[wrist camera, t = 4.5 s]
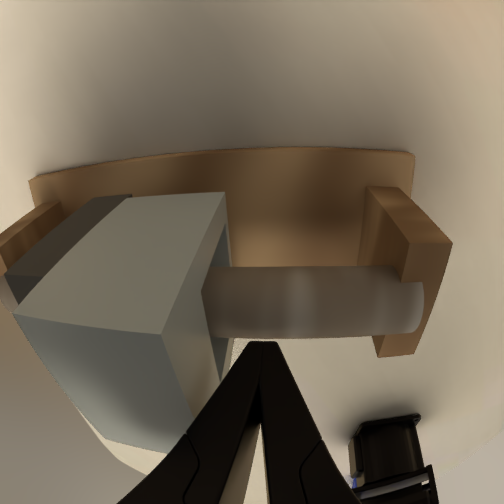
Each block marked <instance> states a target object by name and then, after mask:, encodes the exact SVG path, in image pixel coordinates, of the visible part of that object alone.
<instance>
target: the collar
mask: <svg viewBox="0 0 504 504" xmlns="http://www.w3.org/2000/svg"><path fill="white" fill-rule="evenodd" d="M126 198H133V197H132V194H123V195H113V196H103V197H94V198H92V199H91V200H90V201H88V202H87V203H86V204H84V205H83V206H82V207H80V208H79V209H78V210H77V211H75V212H74V213H73V214H71V215H70V216H69V217H68V218H66V219H65V220H64V221H63V222H61V223H60V224H59V225H58V226H57V227H55V228H54V229H53V230H52V231H51V232H49V233H48V234H47V235H46V236H45V237H43V238H42V239H41V240H40V241H39V242H38V243H37V244H35V245H34V246H33V247H32V248H31V249H30V250H29V251H28V252H26V253H25V254H24V255H23V256H22V257H21V258H20V259H19V260H18V261H17V262H16V263H15V264H14V265H12V266H11V267H10V268H9V269H8V270H7V271H6V272H5V273H4V276H5V279H6V281H7V283H8V285H9V287H10V289H11V291H12V293H13V295H14V297H15V299H16V301H17V303H18V305H19V304H20V303H21V302H22V301H23V300H24V299H25V297H26V296H27V295H28V294H29V293H30V292H31V291H32V289H33V288H34V287H35V286H36V285H37V284H38V283H39V282H40V281H41V280H42V278H43V277H44V276H45V275H46V274H47V273H48V272H49V271H50V270H51V269H52V268H53V267H54V266H55V265H56V264H57V263H58V262H59V261H60V260H61V259H62V258H63V257H64V256H65V255H66V254H67V253H68V252H69V251H70V250H71V249H72V248H73V247H74V246H75V245H76V244H77V243H78V242H79V241H80V240H81V239H82V238H83V237H84V236H85V235H86V234H87V233H88V232H89V231H90V230H91V229H92V228H94V227H95V226H96V225H97V224H98V223H99V222H100V221H101V220H102V219H103V218H104V217H106V216H107V215H108V214H109V213H110V212H111V211H112V210H113V209H115V208H116V207H117V206H118V205H119V204H120V203H121V202H123V201H124V200H125V199H126Z"/></svg>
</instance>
